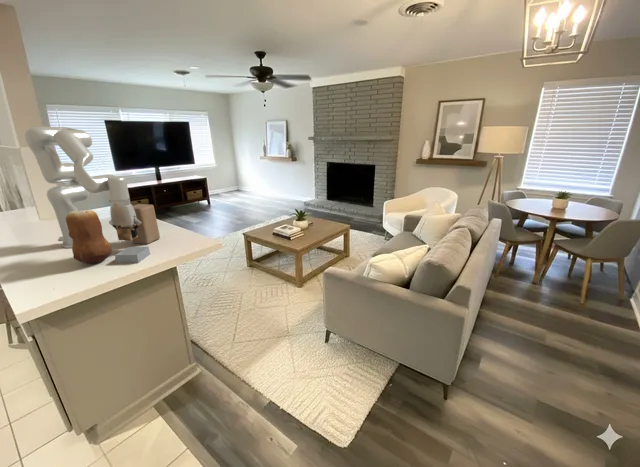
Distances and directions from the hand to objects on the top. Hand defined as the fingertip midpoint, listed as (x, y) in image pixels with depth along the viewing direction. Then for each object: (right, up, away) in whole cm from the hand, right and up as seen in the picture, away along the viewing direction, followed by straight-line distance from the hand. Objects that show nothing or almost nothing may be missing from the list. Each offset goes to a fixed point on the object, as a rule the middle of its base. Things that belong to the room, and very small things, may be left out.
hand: (128, 236), depth 146 cm
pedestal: (+8, -10, -8) cm, 16 cm away
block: (+1, -3, +14) cm, 15 cm away
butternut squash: (-7, -12, -12) cm, 18 cm away
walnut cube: (0, -1, 0) cm, 1 cm away
